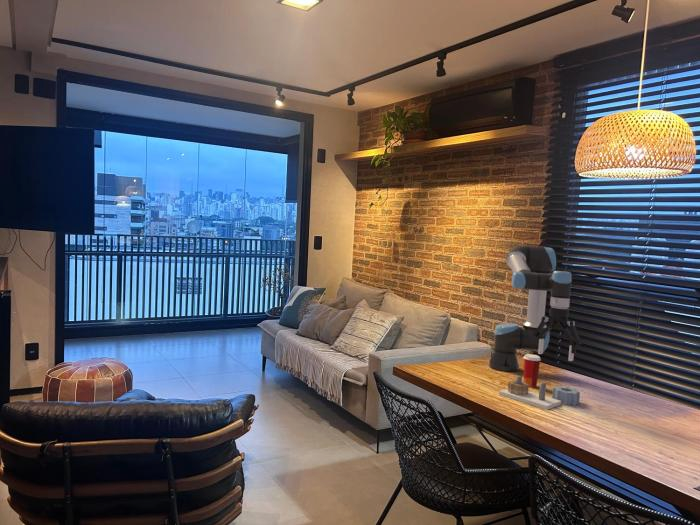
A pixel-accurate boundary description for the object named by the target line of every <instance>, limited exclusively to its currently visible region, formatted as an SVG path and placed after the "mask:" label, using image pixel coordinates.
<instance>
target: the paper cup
mask: <svg viewBox="0 0 700 525" xmlns="http://www.w3.org/2000/svg"><path fill="white" fill-rule="evenodd" d="M522 358H523V382H524V383H528V385H529V388H537V383H538V378H539V371H540V364H541V363H540V362H541V361H542V359H541V357H540V356H539V355H537V354H531V353H530V354H529V353H527V354H524V356H523V357H522Z"/></svg>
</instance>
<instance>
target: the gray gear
mask: <svg viewBox="0 0 700 525" xmlns="http://www.w3.org/2000/svg"><path fill="white" fill-rule="evenodd" d="M580 397H581V391H579V390H578V389H576V388H572V387H570V386H560V385H556V387H555V386H553V388H552V397H551V398H553V399H557V400H560V401H561V405H564V406H567V405H569V406H570V405H571V406H576V405H580Z"/></svg>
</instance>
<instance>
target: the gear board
mask: <svg viewBox="0 0 700 525" xmlns="http://www.w3.org/2000/svg"><path fill="white" fill-rule="evenodd" d="M515 381H516V384H520V385H521V384H522V382H523V376H521V375H516V376H515ZM538 392H539V393H537V392H533V391H529V390H528V395H527V394H525V395H515V394H513V393H509V391H508V388H506V389H501V390H499V391H498V395H500V396H501V397H502V396H503V397H506V398H508V399H511V400H515V401H518V402H521V403H524V404H527V405H530V406H531V405H532V406H534V407H537V408H541V409H544V410H545V411H547V410H550V409H553V408H555V407H558V406H560V405H562V403H561V401H560V400H557V399H553V398H552V397H550V396H546V392H547V383H546V382H542V381H540V382H539V391H538Z"/></svg>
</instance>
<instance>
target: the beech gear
mask: <svg viewBox="0 0 700 525" xmlns="http://www.w3.org/2000/svg"><path fill="white" fill-rule="evenodd" d="M529 388H530V387H529V385H528V383H524V381H522V384H521V385H520V384H516V380H510V381H508V384H507V389H508V391H509V393H513V394H515V395H525V394H527V395H528V391H529Z"/></svg>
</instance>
